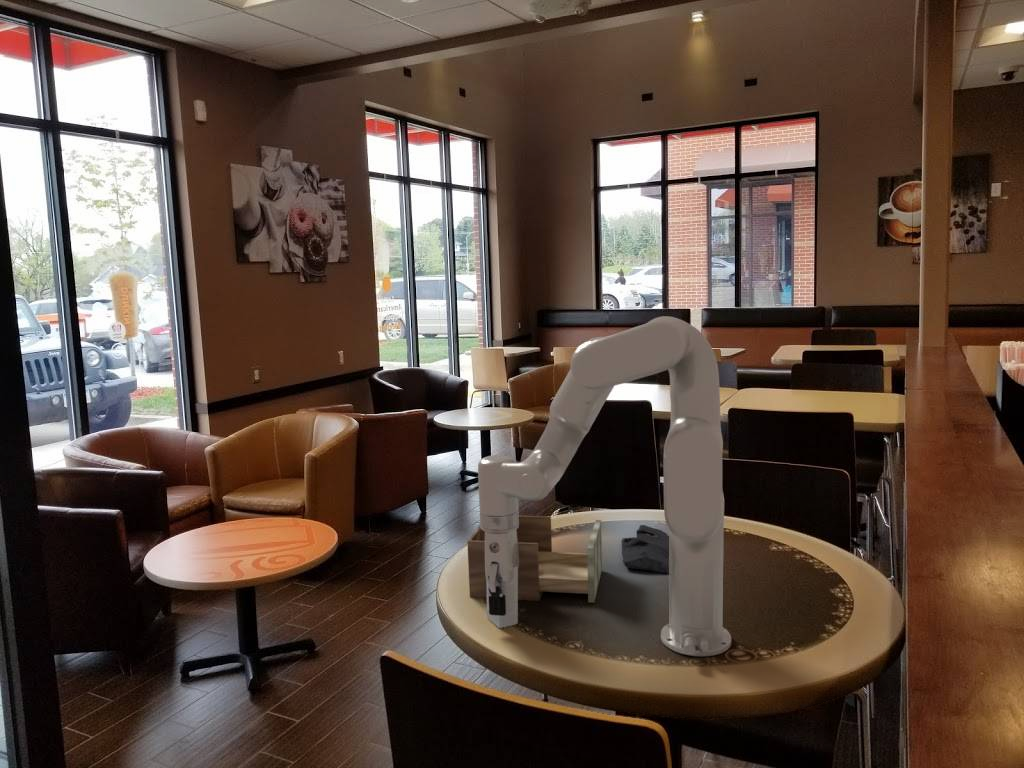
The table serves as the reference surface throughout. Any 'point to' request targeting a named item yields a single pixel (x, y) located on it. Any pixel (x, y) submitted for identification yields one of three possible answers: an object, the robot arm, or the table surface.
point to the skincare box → (507, 602)
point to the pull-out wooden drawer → (573, 568)
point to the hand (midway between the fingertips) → (502, 604)
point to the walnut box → (530, 541)
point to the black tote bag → (647, 550)
